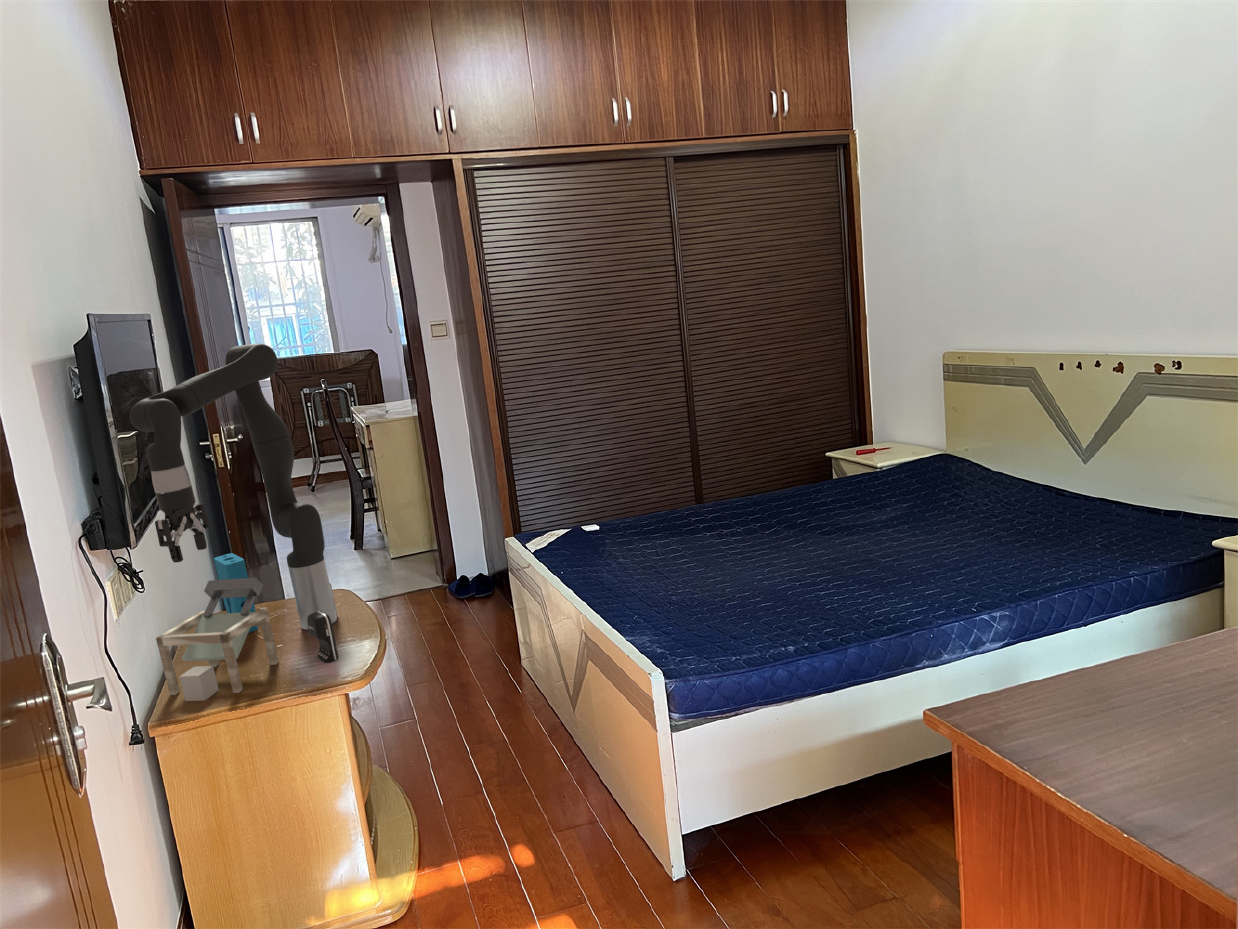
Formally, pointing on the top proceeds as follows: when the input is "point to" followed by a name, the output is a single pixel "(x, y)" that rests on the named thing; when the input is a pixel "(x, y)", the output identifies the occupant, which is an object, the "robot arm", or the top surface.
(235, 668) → the trapdoor frame
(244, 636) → the trapdoor
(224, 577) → the block
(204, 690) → the stone block
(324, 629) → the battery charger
